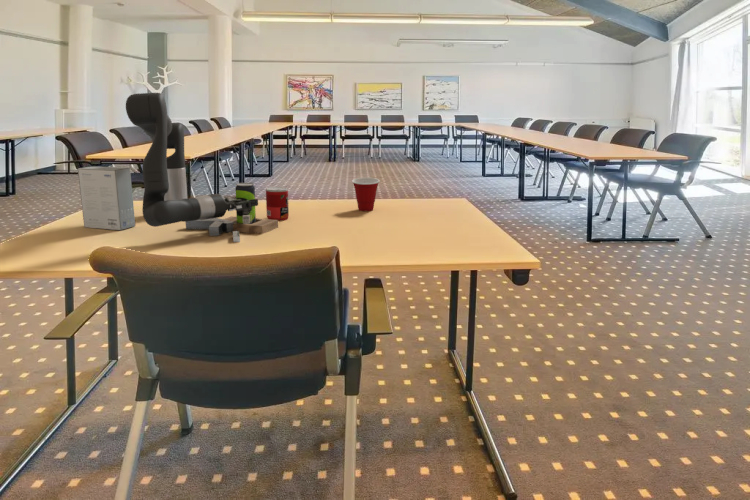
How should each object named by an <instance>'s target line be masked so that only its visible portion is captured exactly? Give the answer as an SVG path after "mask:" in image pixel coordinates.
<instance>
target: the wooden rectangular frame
mask: <svg viewBox="0 0 750 500" xmlns="http://www.w3.org/2000/svg"><path fill="white" fill-rule="evenodd" d="M223 219H224V220H228V221H232V222H234V224H233V231H239V233H250V234H260V235H263V234H266V233H268V232H270V231H273V230H276V229H277V228H279V221H278V220H271V219H268V218H257V217H256V223H253V224H241V223H237V216H234V215H233V216H232V215H231V216H228V217H225V218H223ZM233 231H232V232H233Z"/></svg>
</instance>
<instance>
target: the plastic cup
mask: <svg viewBox="0 0 750 500" xmlns="http://www.w3.org/2000/svg"><path fill="white" fill-rule="evenodd" d="M351 182H352V185H353V187H354V192H355V200H356V203H357V209H358V210H359V211H361V212H371V211H373V210H374V207H375V202H376V196H377V189H378V186H379V183H380V182H381V181H380V179H378V178H375V177H357V178H353V179H352V180H351Z"/></svg>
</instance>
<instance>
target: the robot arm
mask: <svg viewBox="0 0 750 500" xmlns="http://www.w3.org/2000/svg"><path fill="white" fill-rule="evenodd" d="M125 111H126V115H127V116H128V119H129V121H130V122H131V123H132V124H133V125H134V126H136V127H138V128H140V129H141V130H143V132H144V133H145V134H146V135H147V136H148V137H150V139H151V141H152V144H151V145H150V147H149V149H148V151H147V153H146V154H145V157H144V159H143V162H142V179H143V186H144V187H143V188H144V191H143V198H142V215H143V216H142V217H143V219H144V221H145V223H146V224H147V225H149V226H150V227H161V226H166V225H171V224H175V223H179V222H180V223H181V222H184V223H186V222H187V221H194V220H206V219H212V218H222V217H224V216H225V214H226V212H234V211H241V210H246V209H251V207H252V206H255V207H257V206H259V200H258V199H257V198H255V199H252V200H241V199H236V196H226V197H225V196H223V195H222V194H220V193H214V194H206V195H198V196H195V197H189V198H188V188H187V187H188V185H187V175H186V159H185V130H184V127H183V125H182V123H179V122H172V119H171V118H170V117H169V115H168V109H167V103H166V99H165V96H164V95H163V94H162V93H161V92H150V93H149V92H145V93H144V92H142V93H133V94H130V95H129V96H128V97H127V98H126V101H125ZM172 149H173V150H174V152H173V153H172V154H171V155H169V156H168V155H167V153H168V152H167V151H168V150H172ZM237 201H239V202H238V203H237Z"/></svg>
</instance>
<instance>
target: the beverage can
mask: <svg viewBox="0 0 750 500" xmlns="http://www.w3.org/2000/svg"><path fill="white" fill-rule="evenodd" d="M235 185H236V186H235V199H241V200H252V199H256V190H255V189H256V188H255V187H256V186H255V185H254V182H253V183H252V182H238V183H236V184H235ZM238 202H239V201H237V203H238ZM235 211H236V210H235ZM236 217H237V223H241V224H253V223H256V218H257V216H256V206H252V207H251V209H246V210H241V211H236Z"/></svg>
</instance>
